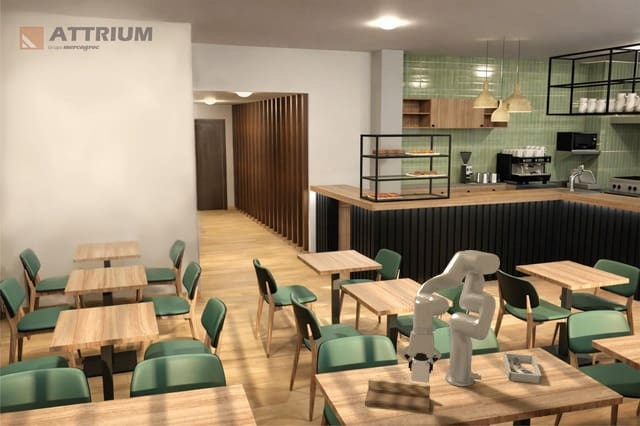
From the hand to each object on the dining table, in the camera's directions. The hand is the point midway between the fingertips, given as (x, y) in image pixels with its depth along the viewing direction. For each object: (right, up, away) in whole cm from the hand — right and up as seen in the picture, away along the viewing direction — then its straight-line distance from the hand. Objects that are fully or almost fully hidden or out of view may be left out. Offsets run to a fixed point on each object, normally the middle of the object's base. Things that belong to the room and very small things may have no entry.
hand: (420, 370), depth 227 cm
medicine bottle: (0, -4, +1) cm, 4 cm away
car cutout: (+54, -10, +36) cm, 66 cm away
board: (-9, -15, +5) cm, 18 cm away
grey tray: (+54, -10, +36) cm, 66 cm away
